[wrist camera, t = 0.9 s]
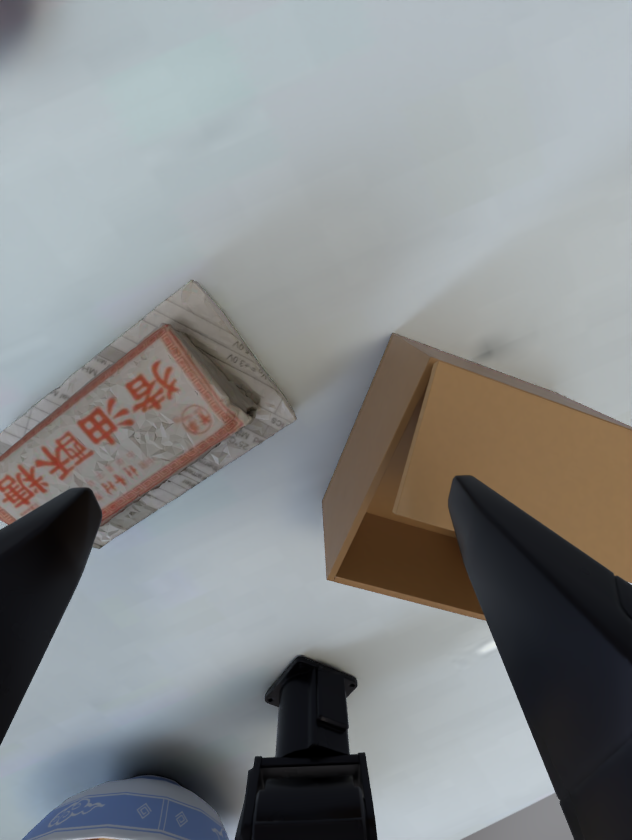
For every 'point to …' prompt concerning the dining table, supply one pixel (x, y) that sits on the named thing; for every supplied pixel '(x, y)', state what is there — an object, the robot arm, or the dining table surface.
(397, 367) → the carton
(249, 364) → the packaged product
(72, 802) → the ramen bowl
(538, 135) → the dining table surface
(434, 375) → the flap
